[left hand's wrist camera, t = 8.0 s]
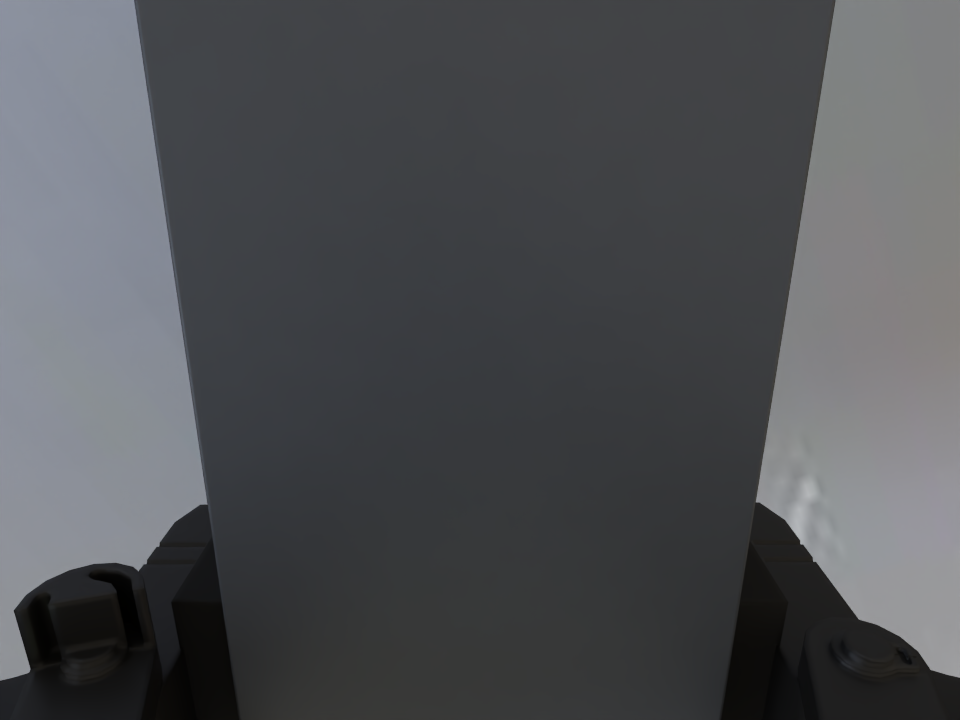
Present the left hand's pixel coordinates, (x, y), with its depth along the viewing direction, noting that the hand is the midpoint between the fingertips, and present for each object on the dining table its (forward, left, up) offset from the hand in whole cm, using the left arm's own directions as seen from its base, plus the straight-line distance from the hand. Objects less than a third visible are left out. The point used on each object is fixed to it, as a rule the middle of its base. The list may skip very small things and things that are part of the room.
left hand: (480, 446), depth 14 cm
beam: (+33, +7, -1) cm, 33 cm away
